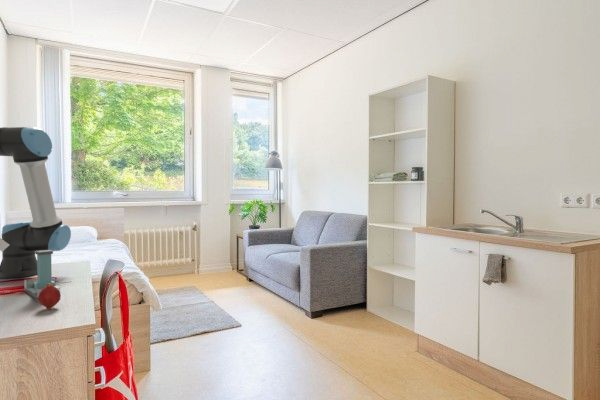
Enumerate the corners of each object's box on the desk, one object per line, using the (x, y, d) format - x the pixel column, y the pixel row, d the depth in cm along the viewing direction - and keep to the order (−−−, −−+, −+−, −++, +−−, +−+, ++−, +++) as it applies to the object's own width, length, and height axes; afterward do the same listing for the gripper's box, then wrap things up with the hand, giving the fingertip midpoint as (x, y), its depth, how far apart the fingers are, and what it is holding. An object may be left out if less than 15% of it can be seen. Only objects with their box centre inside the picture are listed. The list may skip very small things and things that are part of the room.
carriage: (34, 289, 129) (33, 251, 128) (51, 286, 132) (51, 249, 132) (37, 291, 126) (36, 252, 125) (55, 288, 129) (54, 250, 129)
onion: (41, 307, 117) (40, 282, 117) (62, 305, 120) (62, 280, 119) (36, 312, 112) (35, 286, 112) (58, 310, 114) (58, 284, 114)
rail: (24, 290, 137) (24, 278, 137) (43, 287, 142) (43, 276, 141) (39, 302, 122) (39, 289, 122) (60, 298, 127) (60, 286, 126)
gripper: (-76, 208, 116) (-14, 251, 127) (-74, 210, 99) (-3, 259, 110) (-53, 192, 120) (5, 234, 131) (-47, 191, 103) (19, 240, 114)
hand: (2, 246), depth 121 cm, fingers open, 13 cm apart
